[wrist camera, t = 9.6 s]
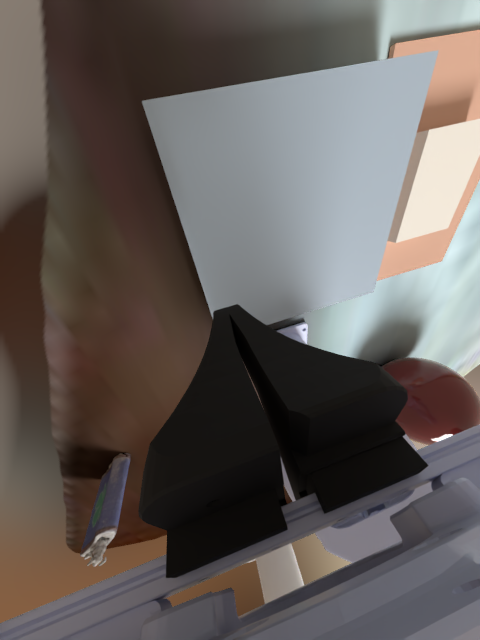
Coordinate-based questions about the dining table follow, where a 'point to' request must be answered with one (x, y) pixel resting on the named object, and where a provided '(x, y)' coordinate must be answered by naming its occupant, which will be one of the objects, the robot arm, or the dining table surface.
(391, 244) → the mat
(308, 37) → the dining table surface
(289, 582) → the white tall block
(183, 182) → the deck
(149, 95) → the dining table surface
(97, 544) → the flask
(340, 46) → the dining table surface
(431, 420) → the round-bottom flask
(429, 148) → the tile
